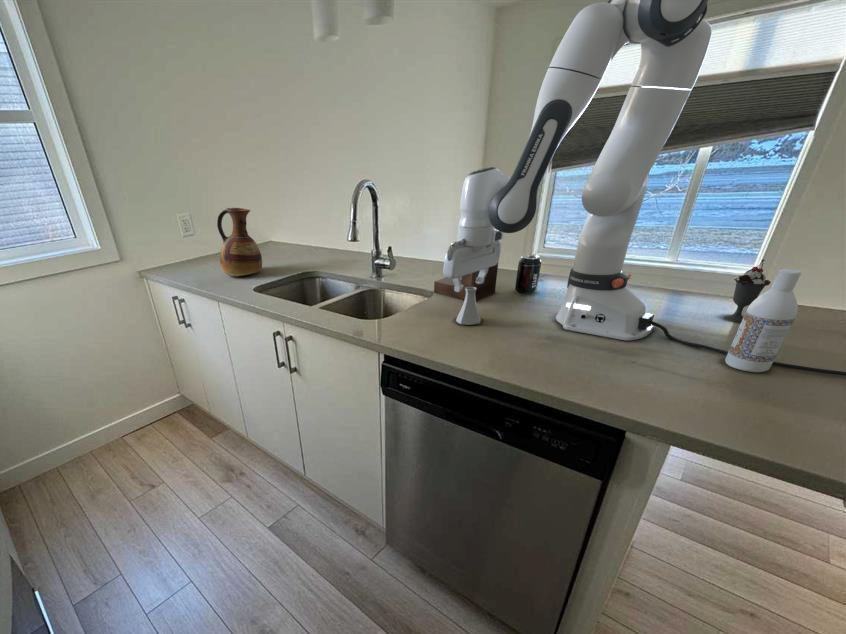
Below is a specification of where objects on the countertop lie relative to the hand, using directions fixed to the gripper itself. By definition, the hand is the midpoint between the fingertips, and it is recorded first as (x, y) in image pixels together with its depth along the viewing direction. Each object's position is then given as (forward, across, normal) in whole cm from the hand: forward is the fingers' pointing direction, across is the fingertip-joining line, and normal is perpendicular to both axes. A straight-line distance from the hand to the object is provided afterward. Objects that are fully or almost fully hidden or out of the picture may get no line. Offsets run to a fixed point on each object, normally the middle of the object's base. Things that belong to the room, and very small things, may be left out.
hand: (469, 287), depth 114 cm
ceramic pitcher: (+13, -19, +116) cm, 119 cm away
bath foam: (+9, +17, -59) cm, 62 cm away
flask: (+10, 0, -1) cm, 11 cm away
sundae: (+9, +46, -50) cm, 69 cm away
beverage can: (+10, +34, +2) cm, 36 cm away
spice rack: (+11, +22, +18) cm, 30 cm away
